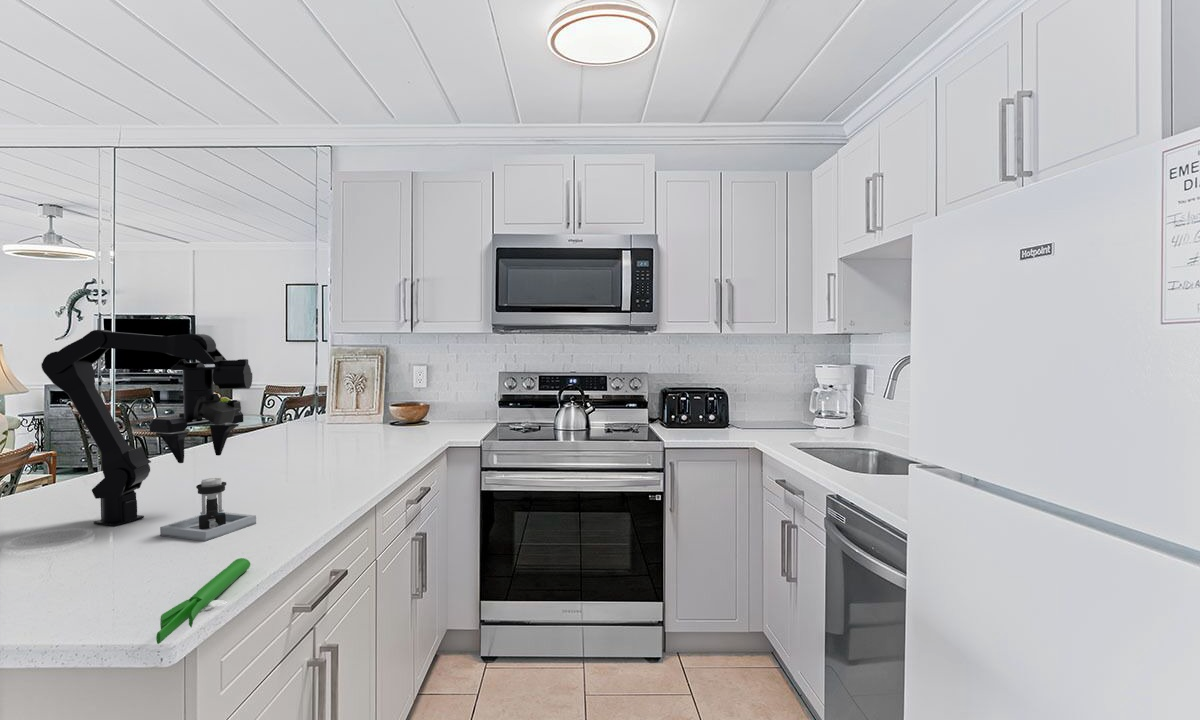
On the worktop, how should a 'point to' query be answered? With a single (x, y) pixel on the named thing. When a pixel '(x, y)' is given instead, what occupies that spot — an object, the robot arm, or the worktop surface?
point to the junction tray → (183, 530)
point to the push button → (211, 504)
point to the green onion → (201, 599)
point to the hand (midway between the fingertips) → (200, 459)
